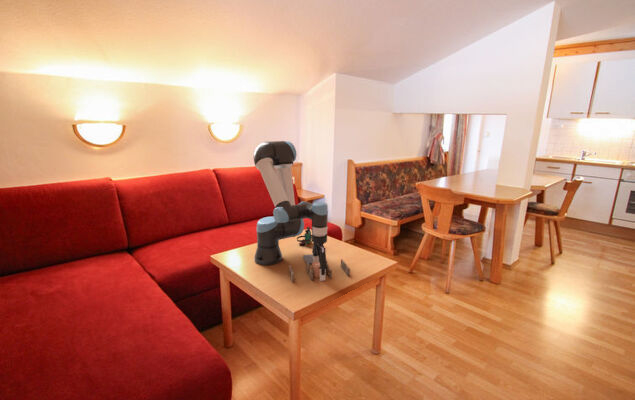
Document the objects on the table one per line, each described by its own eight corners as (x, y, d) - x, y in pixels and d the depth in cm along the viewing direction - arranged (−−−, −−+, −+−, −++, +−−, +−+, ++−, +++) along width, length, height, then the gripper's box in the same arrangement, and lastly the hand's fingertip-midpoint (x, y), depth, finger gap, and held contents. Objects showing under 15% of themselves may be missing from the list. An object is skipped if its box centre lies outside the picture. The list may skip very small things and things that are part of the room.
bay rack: (288, 271, 163) (288, 264, 162) (342, 266, 170) (342, 259, 169) (292, 282, 152) (292, 275, 151) (349, 276, 159) (350, 269, 158)
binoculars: (297, 226, 203) (312, 226, 200) (299, 242, 205) (314, 242, 203) (293, 231, 194) (309, 230, 192) (295, 247, 196) (311, 247, 194)
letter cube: (312, 272, 163) (312, 262, 161) (322, 271, 164) (322, 261, 163) (314, 277, 158) (314, 266, 156) (325, 276, 159) (325, 265, 158)
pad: (303, 256, 181) (303, 255, 181) (321, 255, 184) (321, 253, 184) (307, 265, 171) (307, 263, 171) (326, 263, 173) (327, 261, 173)
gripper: (334, 242, 145) (333, 285, 150) (320, 225, 168) (320, 262, 173) (318, 243, 143) (317, 286, 148) (306, 226, 166) (306, 264, 171)
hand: (319, 274), depth 161 cm, fingers open, 13 cm apart
